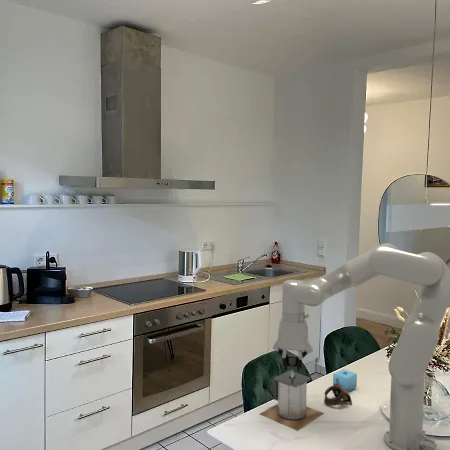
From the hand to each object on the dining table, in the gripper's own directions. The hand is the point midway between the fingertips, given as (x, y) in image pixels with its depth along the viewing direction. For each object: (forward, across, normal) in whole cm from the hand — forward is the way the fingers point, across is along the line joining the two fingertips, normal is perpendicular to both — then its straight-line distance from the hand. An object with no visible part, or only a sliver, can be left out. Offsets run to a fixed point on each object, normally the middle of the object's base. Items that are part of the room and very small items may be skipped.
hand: (292, 368), depth 154 cm
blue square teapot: (+18, -18, -27) cm, 37 cm away
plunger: (+12, 0, 0) cm, 12 cm away
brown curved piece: (+18, -16, -14) cm, 27 cm away
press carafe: (+16, +1, -1) cm, 16 cm away
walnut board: (+17, 0, 0) cm, 17 cm away
